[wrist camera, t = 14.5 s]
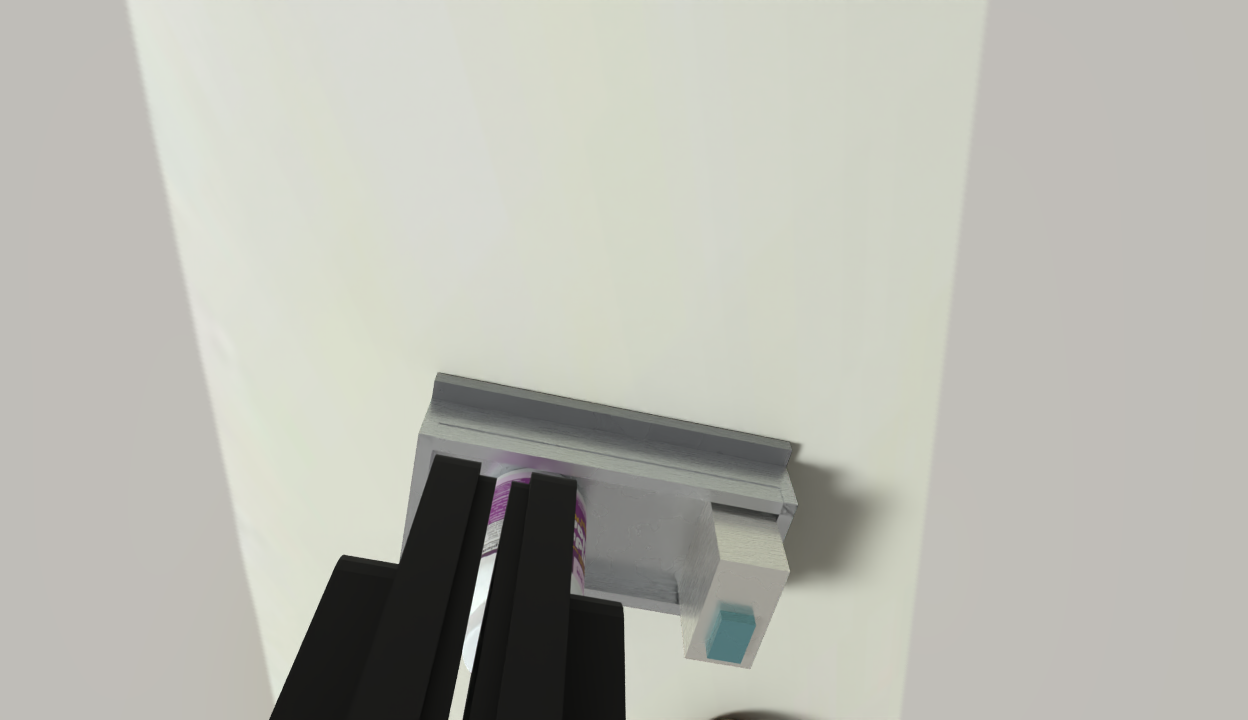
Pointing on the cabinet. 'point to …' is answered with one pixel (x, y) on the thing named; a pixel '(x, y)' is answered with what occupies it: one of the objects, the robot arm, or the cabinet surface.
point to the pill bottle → (491, 550)
